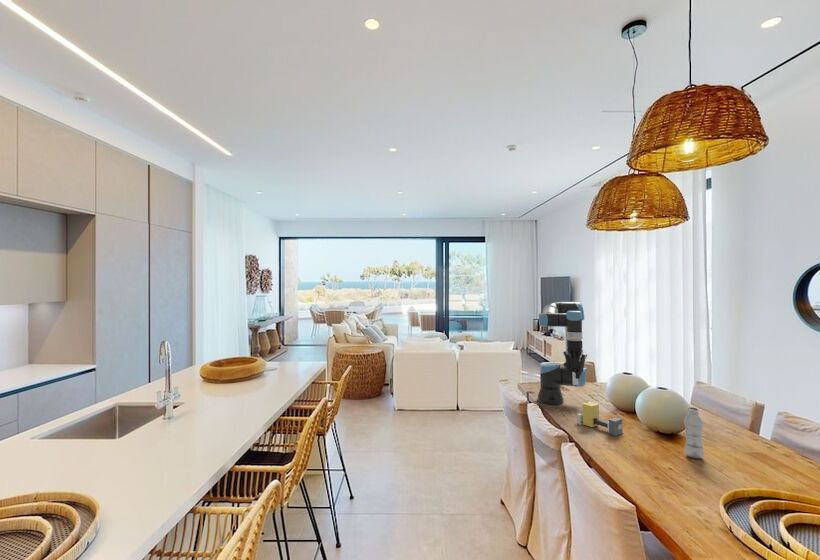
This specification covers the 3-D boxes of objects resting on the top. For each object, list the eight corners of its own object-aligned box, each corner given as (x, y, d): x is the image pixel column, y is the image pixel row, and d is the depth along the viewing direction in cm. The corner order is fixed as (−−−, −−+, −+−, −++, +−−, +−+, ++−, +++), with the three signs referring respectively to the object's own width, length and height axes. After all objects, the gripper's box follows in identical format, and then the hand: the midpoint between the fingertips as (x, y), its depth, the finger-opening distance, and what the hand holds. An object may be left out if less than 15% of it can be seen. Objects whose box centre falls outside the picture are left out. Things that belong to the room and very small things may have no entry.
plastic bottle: (700, 454, 160) (699, 407, 160) (706, 461, 154) (705, 412, 154) (682, 452, 162) (681, 405, 162) (688, 459, 156) (686, 410, 156)
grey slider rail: (585, 421, 201) (585, 407, 201) (624, 433, 183) (624, 419, 183) (577, 423, 197) (576, 410, 197) (616, 437, 180) (615, 422, 180)
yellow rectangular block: (590, 421, 198) (589, 401, 198) (599, 424, 194) (598, 404, 194) (582, 424, 195) (582, 403, 195) (591, 427, 191) (591, 406, 191)
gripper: (559, 339, 206) (560, 382, 205) (581, 341, 195) (582, 388, 194) (568, 338, 210) (569, 381, 209) (590, 340, 199) (591, 386, 198)
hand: (575, 384), depth 202 cm, fingers closed
